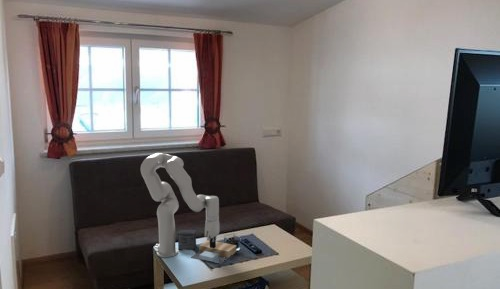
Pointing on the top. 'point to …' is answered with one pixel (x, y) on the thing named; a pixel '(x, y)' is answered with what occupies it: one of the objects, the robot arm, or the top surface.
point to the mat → (218, 257)
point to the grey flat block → (208, 256)
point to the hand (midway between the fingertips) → (212, 247)
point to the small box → (186, 239)
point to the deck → (218, 248)
